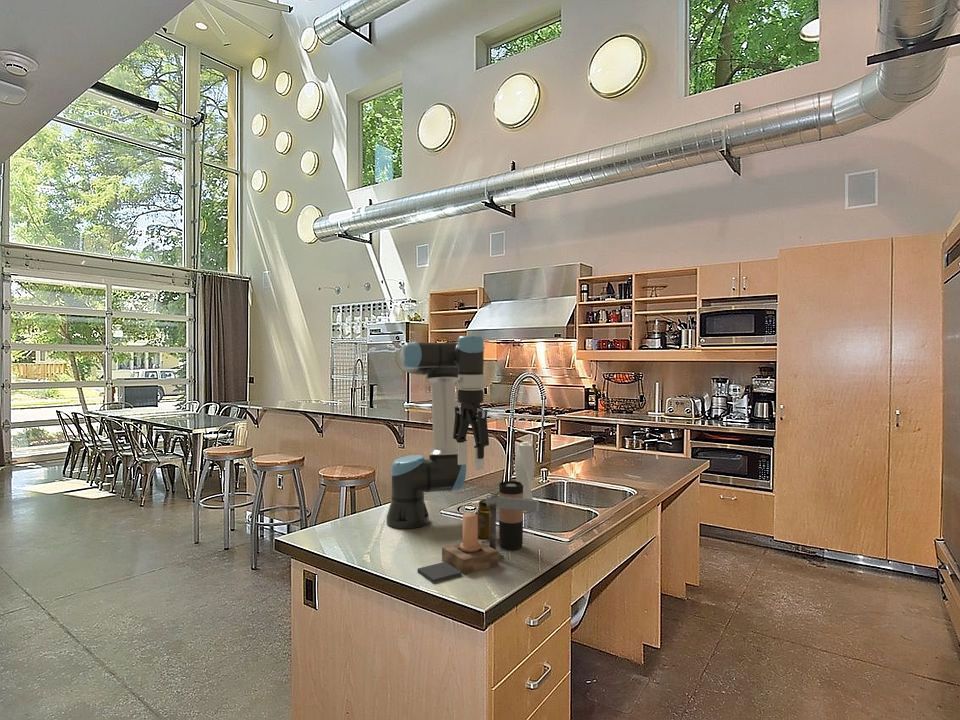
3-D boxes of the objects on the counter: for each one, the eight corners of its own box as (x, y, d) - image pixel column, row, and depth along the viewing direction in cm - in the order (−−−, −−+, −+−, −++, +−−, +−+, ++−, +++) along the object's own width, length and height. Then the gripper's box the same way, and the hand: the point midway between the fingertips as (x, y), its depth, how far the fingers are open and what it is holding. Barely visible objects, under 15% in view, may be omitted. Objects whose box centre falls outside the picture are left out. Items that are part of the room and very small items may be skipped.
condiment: (501, 538, 189) (501, 502, 189) (479, 542, 184) (479, 506, 184) (488, 532, 195) (488, 497, 195) (467, 536, 190) (467, 500, 190)
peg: (456, 561, 168) (456, 514, 168) (473, 557, 172) (473, 511, 171) (467, 568, 163) (467, 519, 163) (484, 563, 167) (484, 516, 166)
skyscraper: (540, 510, 219) (540, 438, 219) (526, 515, 214) (526, 440, 213) (523, 506, 226) (524, 435, 225) (509, 510, 220) (510, 437, 219)
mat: (417, 572, 161) (417, 568, 161) (445, 565, 166) (445, 561, 166) (433, 583, 153) (433, 579, 153) (461, 575, 158) (461, 572, 158)
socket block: (442, 560, 169) (442, 509, 169) (487, 549, 178) (488, 500, 178) (463, 574, 159) (463, 519, 159) (511, 561, 168) (511, 510, 168)
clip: (535, 512, 165) (536, 502, 164) (484, 506, 170) (484, 496, 170) (539, 509, 168) (539, 499, 168) (489, 503, 174) (489, 493, 174)
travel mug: (494, 547, 180) (494, 484, 179) (506, 540, 186) (507, 479, 186) (515, 552, 176) (515, 488, 175) (527, 545, 182) (527, 483, 181)
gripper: (441, 387, 172) (441, 462, 173) (480, 392, 155) (479, 475, 156) (462, 386, 177) (462, 459, 177) (502, 390, 159) (502, 472, 160)
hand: (470, 466), depth 167 cm, fingers open, 8 cm apart
